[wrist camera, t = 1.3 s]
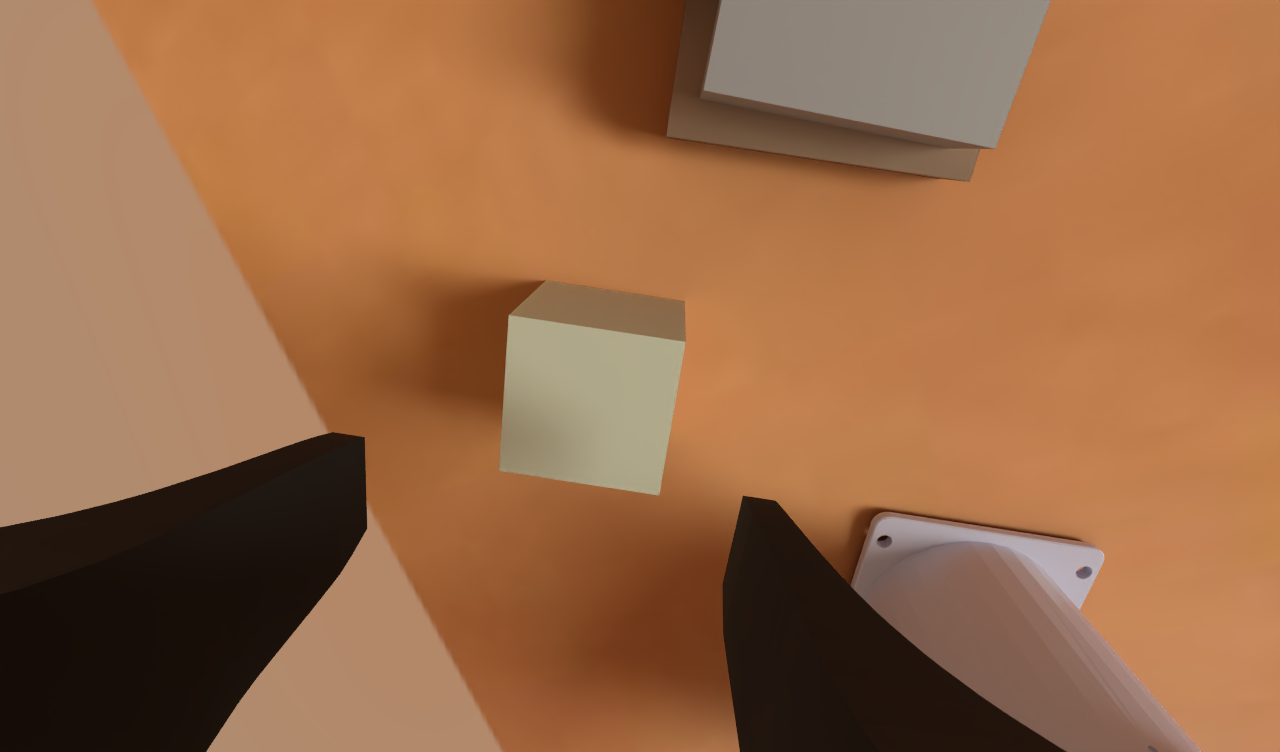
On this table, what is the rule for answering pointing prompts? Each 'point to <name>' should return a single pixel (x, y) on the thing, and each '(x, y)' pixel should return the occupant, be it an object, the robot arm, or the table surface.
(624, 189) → the table surface
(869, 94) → the middle block
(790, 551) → the robot arm
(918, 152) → the base block
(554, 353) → the sage cube
